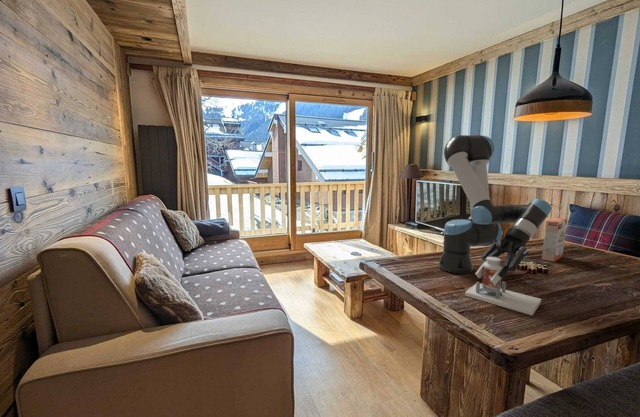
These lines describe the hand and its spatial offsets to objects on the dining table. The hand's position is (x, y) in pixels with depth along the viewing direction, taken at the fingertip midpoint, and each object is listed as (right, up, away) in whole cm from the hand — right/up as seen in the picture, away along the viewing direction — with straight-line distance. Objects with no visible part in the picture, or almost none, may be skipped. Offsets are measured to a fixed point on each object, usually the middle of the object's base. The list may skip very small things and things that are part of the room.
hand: (485, 279), depth 115 cm
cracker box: (+60, 0, +45) cm, 75 cm away
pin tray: (+6, -8, 0) cm, 10 cm away
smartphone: (+46, -1, +39) cm, 60 cm away
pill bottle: (+3, -3, +2) cm, 5 cm away
